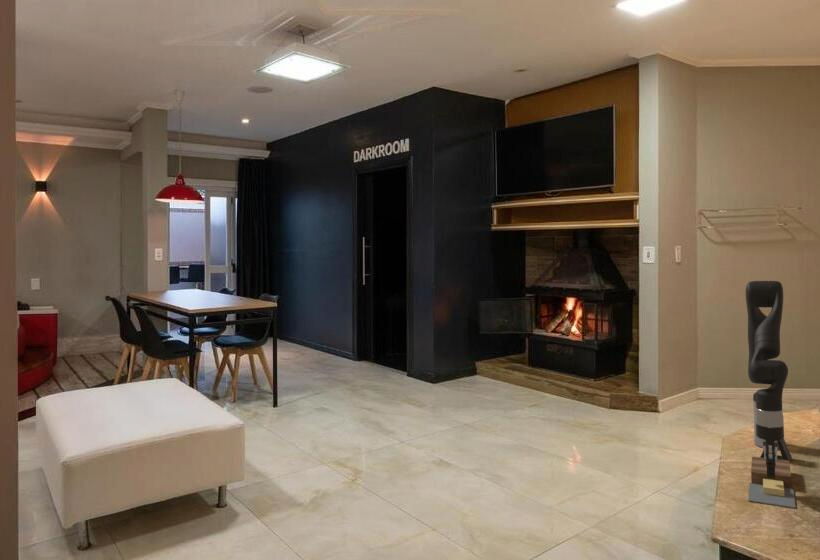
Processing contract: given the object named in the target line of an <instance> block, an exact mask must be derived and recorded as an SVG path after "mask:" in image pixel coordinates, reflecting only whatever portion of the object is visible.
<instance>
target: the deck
mask: <svg viewBox="0 0 820 560" xmlns="http://www.w3.org/2000/svg"><path fill="white" fill-rule="evenodd" d="M760 457H761V456H760ZM760 457H759V456H751V466H750V467H751V470H750V472H751V475H750V476H751V480H750V481H751V482H750V483H754V484H761V485H763V478H764V479H772V480H780V481H783V485H784V488H791V489H793V488H792V471H791V464H790V462H791V461H790V462H789V461H787V460H778V459H777V460H775V462H776V466H775V478H768V477H767V466H766V459H765V458H760Z"/></svg>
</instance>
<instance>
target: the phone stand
mask: <svg viewBox="0 0 820 560" xmlns="http://www.w3.org/2000/svg"><path fill="white" fill-rule="evenodd" d="M777 443H778V446H779V448H778V450H779V451H780V454H781V455H780V454H779V455H778V454H777V459H778V460H787V461H789V462H791V460H792V459H793V457H792V455H791V452H790V450H789V448H788V445H787V443H786V440H785V438H784V439H783V440H780V441H777ZM762 450H763V449H762ZM760 458H764V450H763V451H762V452H761V455H760Z"/></svg>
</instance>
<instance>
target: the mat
mask: <svg viewBox="0 0 820 560" xmlns="http://www.w3.org/2000/svg"><path fill="white" fill-rule="evenodd" d="M748 485H749V486H748V488H749V489H748V502H749V501H754V502H753V503H755V502H759V503H758V504H761V503H764V504H763V505H768V504H769V506H775V507H776V506H777V507H783V508H788V509H796V507H797V506H796V499H795V493H794V492H795V491H794V488H792V489H791V488H784V496H777V495H770V494H764V493H763V485H761V484H754V483H751V482H749V484H748Z"/></svg>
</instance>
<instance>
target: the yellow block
mask: <svg viewBox="0 0 820 560" xmlns="http://www.w3.org/2000/svg"><path fill="white" fill-rule="evenodd" d="M763 493H764V494H770V495H777V496H784V485H783V481H780V480H772V479H764V478H763Z"/></svg>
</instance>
